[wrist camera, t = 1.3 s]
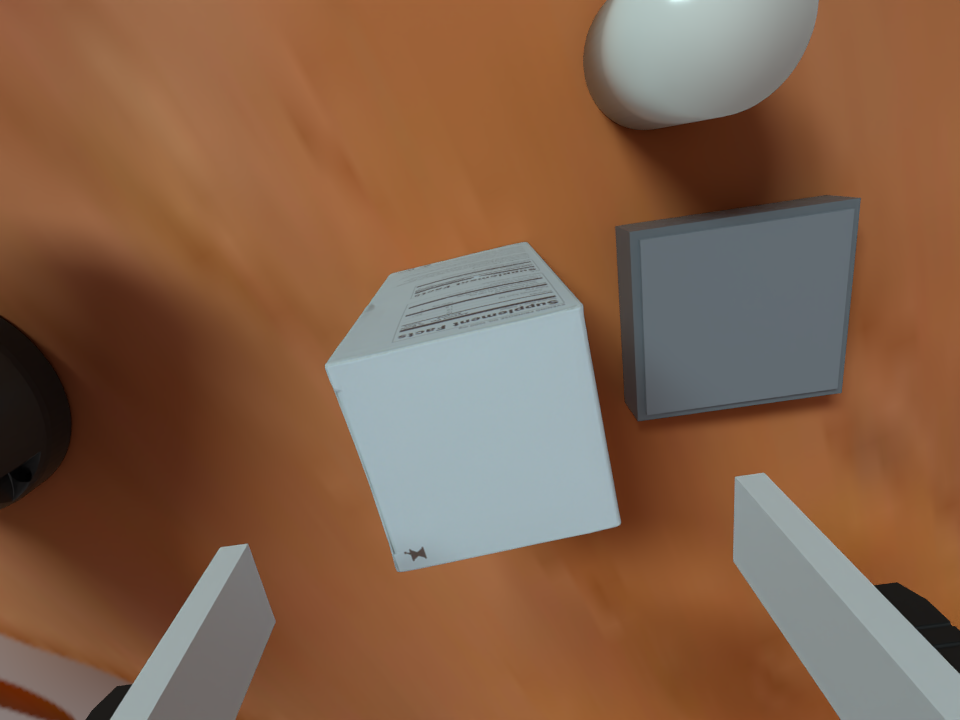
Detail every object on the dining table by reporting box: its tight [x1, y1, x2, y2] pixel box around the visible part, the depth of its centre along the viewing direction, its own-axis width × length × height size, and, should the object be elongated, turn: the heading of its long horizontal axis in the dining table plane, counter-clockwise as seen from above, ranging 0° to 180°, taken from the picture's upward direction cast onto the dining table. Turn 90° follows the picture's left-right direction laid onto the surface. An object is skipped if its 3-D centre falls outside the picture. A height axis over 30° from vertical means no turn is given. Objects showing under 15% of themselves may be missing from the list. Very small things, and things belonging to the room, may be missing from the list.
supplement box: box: [325, 242, 621, 572], centre depth 27 cm, size 10×9×17 cm
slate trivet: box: [615, 195, 861, 421], centre depth 34 cm, size 13×12×3 cm
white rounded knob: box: [583, 0, 819, 130], centre depth 26 cm, size 8×8×9 cm
